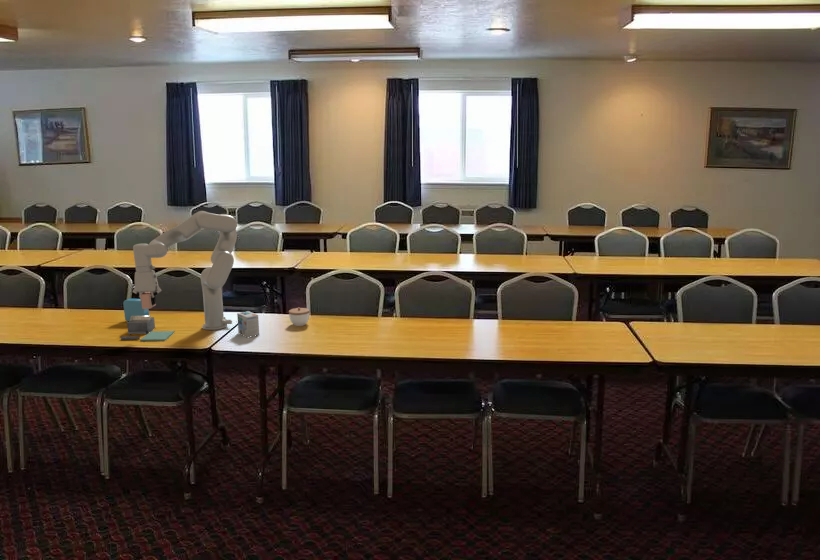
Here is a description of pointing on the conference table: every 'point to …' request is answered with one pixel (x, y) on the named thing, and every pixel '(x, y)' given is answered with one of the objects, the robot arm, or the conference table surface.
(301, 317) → the lidded jar
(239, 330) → the light bulb box
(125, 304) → the data package
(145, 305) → the pink rectangular prism
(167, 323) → the conference table surface
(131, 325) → the dispenser
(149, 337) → the pad
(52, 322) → the conference table surface
